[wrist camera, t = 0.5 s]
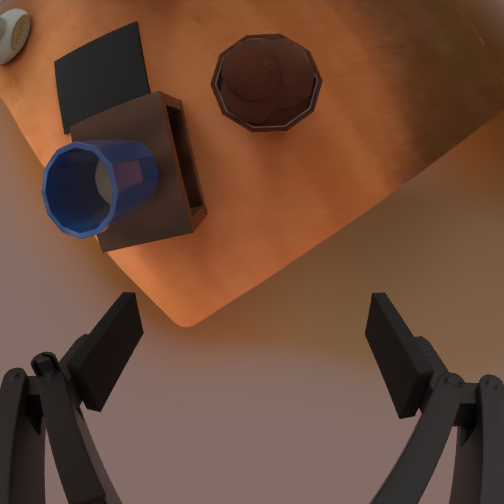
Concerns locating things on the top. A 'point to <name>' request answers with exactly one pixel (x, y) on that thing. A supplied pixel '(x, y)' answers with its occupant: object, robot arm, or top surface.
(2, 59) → the air freshener
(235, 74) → the ice cream bowl
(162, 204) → the shelf
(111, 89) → the mat
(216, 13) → the top surface
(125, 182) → the cup
